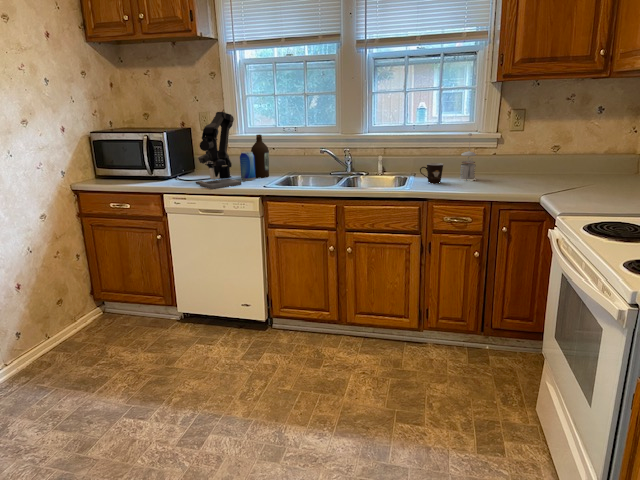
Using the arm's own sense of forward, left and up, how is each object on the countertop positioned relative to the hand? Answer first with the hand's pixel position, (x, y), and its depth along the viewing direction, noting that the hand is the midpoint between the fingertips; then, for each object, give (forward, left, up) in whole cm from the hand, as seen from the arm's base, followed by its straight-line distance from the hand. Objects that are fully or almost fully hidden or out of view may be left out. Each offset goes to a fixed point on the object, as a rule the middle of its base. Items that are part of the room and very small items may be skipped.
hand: (214, 176), depth 277 cm
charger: (0, 0, -1) cm, 1 cm away
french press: (-100, +102, -3) cm, 143 cm away
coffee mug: (-80, +93, -3) cm, 123 cm away
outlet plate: (+4, +14, -3) cm, 15 cm away
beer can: (-17, +9, -3) cm, 20 cm away
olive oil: (-28, +6, -3) cm, 29 cm away
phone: (+9, +1, -3) cm, 10 cm away
